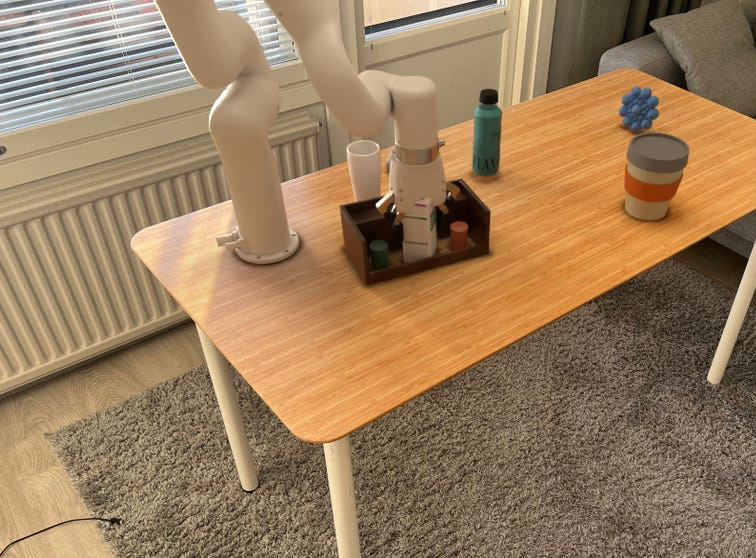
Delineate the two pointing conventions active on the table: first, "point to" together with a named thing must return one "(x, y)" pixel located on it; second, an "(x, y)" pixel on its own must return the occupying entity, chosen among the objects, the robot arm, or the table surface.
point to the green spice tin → (379, 255)
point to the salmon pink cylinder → (458, 236)
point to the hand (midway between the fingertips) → (419, 233)
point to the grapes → (639, 109)
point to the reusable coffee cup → (653, 173)
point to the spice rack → (371, 225)
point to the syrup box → (420, 231)
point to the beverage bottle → (487, 134)
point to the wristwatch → (388, 161)
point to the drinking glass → (364, 169)
